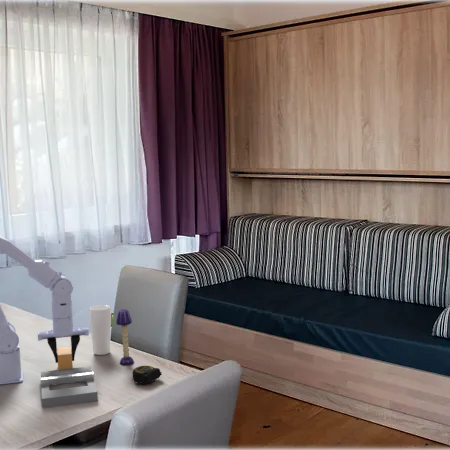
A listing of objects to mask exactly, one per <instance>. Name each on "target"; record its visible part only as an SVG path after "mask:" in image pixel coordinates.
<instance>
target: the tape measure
mask: <svg viewBox="0 0 450 450" xmlns="http://www.w3.org/2000/svg"><path fill="white" fill-rule="evenodd" d="M162 373H163V372H162V371H161V369H160V368H157V367H154V366H151V365H139V366H137V367H135V368H134V369H133V370H132V381H133V382H134V383H136V384H140V385H141V384H142V385H143V384H144V385H147V384H150V383H152V382H153V381H155V380H157V379H159V378H160V377H161V376H162Z"/></svg>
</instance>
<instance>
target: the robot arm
mask: <svg viewBox="0 0 450 450" xmlns="http://www.w3.org/2000/svg"><path fill="white" fill-rule="evenodd" d="M0 255H6V256H7V257H9V258H11V259H12V260H13V261H15V262H17V263H18V264H19V265H21V266H23V267H25V268H26V269H27V272H28V273H27V274H28V276H29V277H30V278H31V279H33V280H34V281H36V282H37V283H38V284H39V285H42V286H43V287H44V288H45V289H48V290H49V291H51V292H52V293H51V312H52V314H51V315H52V329H51V330H50V329H49V330H46V331H39V332H37V341H42V340H46V341H47V344H48V346H49V348H50V349H51V352H52V354H53V356H54V360H55V363H56V364H58V356H57V348H58V346H57V339H59V338H60V339H61V338H62V339H63V338H68V337H69V338H70V346H71V352H72V362H74V361H75V357H76V351H77V348H78V346H79V344H80V341H81V336H85V337H86V336H87V337H88V336H89V335H90V333H89V332H90V330H89V327H74V326H73V325H74V323H73V321H74V319H73V304H72V303H73V302H72V301H73V300H72V293H73V291H74V287H73V284H72V282H71V281H70V280H69V279H68V277H67V276H65V274H63V272H62V271H60V270H59V271H57V269H55V268H54V267H52V266H51V265H50V262H49V261H48V260H42V259H34V258H32V257H31V256H30V255H28V254H27V253H26V252H24V251H23V250H22V249H20V248H19V247H18V246H17V245H15V244H14V243H13V242H12V241H10V239H7V238H5V237H4V236H2V235H0ZM19 343H20V339H19V334H17V332H16V328H15V326H14V325H13V324H12V323H10V322H9V321H8V319H7V317H6V315H5V313H4V310H3V309H2V306H1V305H0V385H8V384H13V383H14V384H16V383H22V382H23V381H24V371H23V370H22V365H21V348H20V345H19Z"/></svg>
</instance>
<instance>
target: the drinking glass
mask: <svg viewBox="0 0 450 450" xmlns="http://www.w3.org/2000/svg"><path fill="white" fill-rule="evenodd" d="M88 309H89V311H88V314H89V315H88V318H89V326H90V333H91V334H90V335H91V343H92V352H93V354H94V355H97V356H104V355H108V354H109V353H111V328H112V311H111V306H110V305H107V304H96V305H91V306H90V307H89V308H88Z"/></svg>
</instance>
